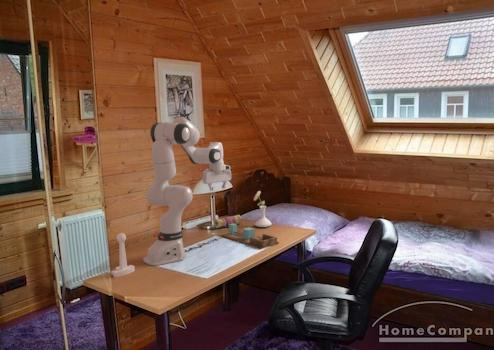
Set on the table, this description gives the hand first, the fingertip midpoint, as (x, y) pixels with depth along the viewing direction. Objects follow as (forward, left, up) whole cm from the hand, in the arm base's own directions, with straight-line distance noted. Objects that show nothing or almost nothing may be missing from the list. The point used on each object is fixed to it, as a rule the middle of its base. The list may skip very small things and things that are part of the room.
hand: (217, 189), depth 261 cm
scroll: (+16, +11, -30) cm, 35 cm away
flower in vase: (+32, -6, -29) cm, 44 cm away
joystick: (-74, -19, -29) cm, 82 cm away
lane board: (+5, -23, -29) cm, 37 cm away
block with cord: (+5, -16, -28) cm, 33 cm away
